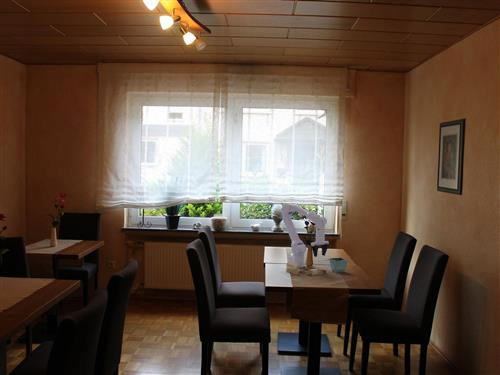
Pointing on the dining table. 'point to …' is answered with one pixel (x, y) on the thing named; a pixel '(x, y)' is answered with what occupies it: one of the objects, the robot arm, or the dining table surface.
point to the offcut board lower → (317, 273)
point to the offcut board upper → (315, 270)
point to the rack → (305, 271)
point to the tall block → (292, 268)
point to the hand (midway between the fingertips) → (319, 256)
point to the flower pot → (338, 264)
